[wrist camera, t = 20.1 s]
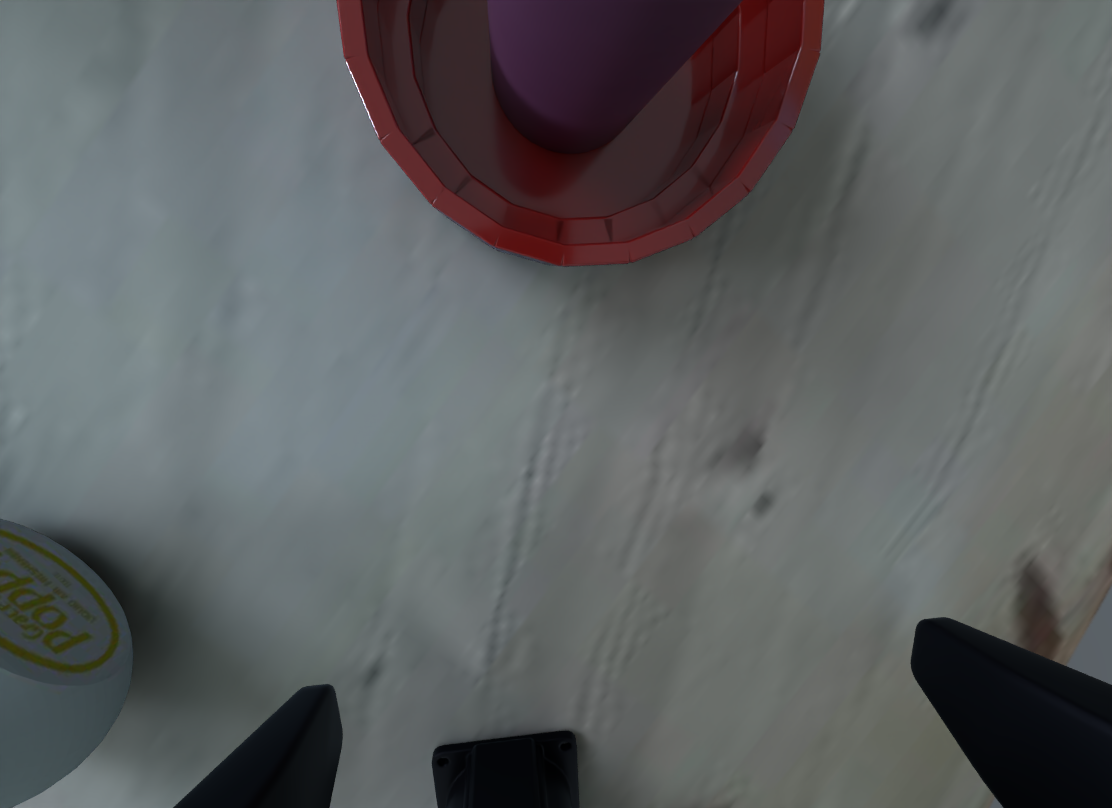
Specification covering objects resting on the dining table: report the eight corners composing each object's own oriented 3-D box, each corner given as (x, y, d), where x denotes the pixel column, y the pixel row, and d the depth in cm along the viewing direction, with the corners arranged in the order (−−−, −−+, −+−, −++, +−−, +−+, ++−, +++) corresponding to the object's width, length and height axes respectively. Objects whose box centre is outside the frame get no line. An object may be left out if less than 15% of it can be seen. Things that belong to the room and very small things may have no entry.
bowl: (738, 256, 19) (805, 255, 15) (402, 272, 18) (372, 276, 14) (757, -154, 16) (849, -304, 12) (351, -162, 15) (291, -330, 11)
